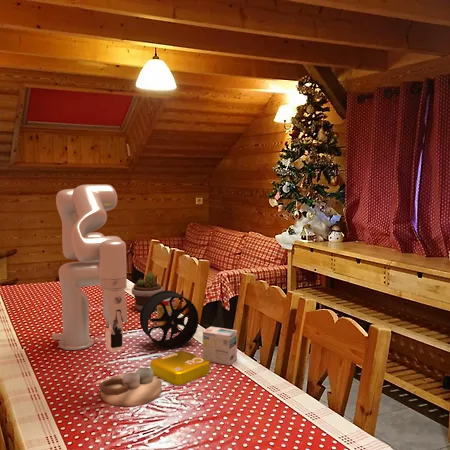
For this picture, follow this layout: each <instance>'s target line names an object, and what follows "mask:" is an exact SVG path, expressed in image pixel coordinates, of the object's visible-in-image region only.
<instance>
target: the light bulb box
mask: <svg viewBox="0 0 450 450" xmlns="http://www.w3.org/2000/svg"><path fill="white" fill-rule="evenodd" d="M202 358H204V359H207V360H209V361H210V363H214V364H215V363H216V364H220V365H225V366H230V365H231V364H233V363H235V361H237V359H238V330H237V329H232V328H231V329H230V328H223V327H218V326H217V327H216V326H209V327H207V328H206V329H204V330H202Z"/></svg>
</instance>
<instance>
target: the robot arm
mask: <svg viewBox="0 0 450 450" xmlns="http://www.w3.org/2000/svg"><path fill="white" fill-rule="evenodd" d="M55 200H56V201H55V203H56V205H55V206H56V209H57V211H58V215H59V217H60V220H61V224H62V226H61V230H62V232H61V233H62V234H61V235H62V236H61V237H62V239H61V240H62V243H61V244H62V253H63V256H64V257H65V258H66V259H68V260H78V261H71V262H67V263H63V264H62V265H61V266H60V267H59V269H58V279H59V285H60V290H61V307H62V309H61V310H62V311H61V312H62V332H61V333H56V332H54V333H52V335H51V338H52V340H53V341H58V342H59V343H58V347H59V348H60V349H62V350H67V351H77V350H78V351H79V350H84V349H87V348H89V347H92V346H93V345H94V340H95V339H93V338H92V337H90V311H89V310H90V304H89V303H90V302H89V297H88V295H87V294H86V293H85V291H83V290H82V288H85V287H94V286H99V289H100V290H101V291H102V314H103V318H104V319H105V321H106V322H105V323H106V324H105V328H106V329H108V328H109V324H108V323H110V324H111V328H112V334H111V347H112V348H116V347H122V330H123V328H124V325H123V323H125V324H126V323H128V306H127V294H126V289H127V287H128V286H127V282H128V281H127V245H126V242H125V241H124V240H122V238H121V237H119V236H117V235H108V236H107V235H106V236H105V235H104V234H103V233H101V232H95V231H97V230H98V229H101V228H102V227H103V226H104V225H105V224H106V222H107V220H108V213H107V212H108V211H111V210H113V209H115V207H117V204H118V194H117V192H116V189H115V188H114V187H113V186H112V185H111V184H91V183H90V184H80V185H78V186H77V187H75V188H68V189H67V188H66V189H62V190H60V191H58V192H57V193H56V196H55ZM114 321H117V323H114ZM115 325H117V327H115V329H114V326H115Z"/></svg>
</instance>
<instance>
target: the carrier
mask: <svg viewBox="0 0 450 450" xmlns="http://www.w3.org/2000/svg"><path fill="white" fill-rule="evenodd" d="M162 383H163V382H162V381H161V380H160V378H159V377H156V376H154V375H153V370H152V369H151V367H142V368H141V367H140V368H138V369H136V372H127V373H123V374H118V375H115V376H112V377H110V378H108V379H106V380H104V381H102V382H101V383H100V386H99V392H100V398H101V399H102V400H103V401H104V402H106V403H107V404H110V405H114V406H117V407H133V406H140V405H141V406H142V405H145V404H148V403H151V402H152V401H154V400H157V399H158V398H159V397H160V395H161V394H162V391H163V389H162V387H163V386H162Z"/></svg>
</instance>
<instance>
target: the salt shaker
mask: <svg viewBox="0 0 450 450" xmlns="http://www.w3.org/2000/svg"><path fill="white" fill-rule="evenodd" d="M114 323H117V321H114ZM108 324H109V328H106V329H105V348H106V350H107V351H109V352H110V353H115V352H119V351H122V350H124V330H123V329H122V347H116V348H112V347H111V334H112V328H111V324H110V323H108ZM115 327H117V325H115V326H114V329H115Z"/></svg>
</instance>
